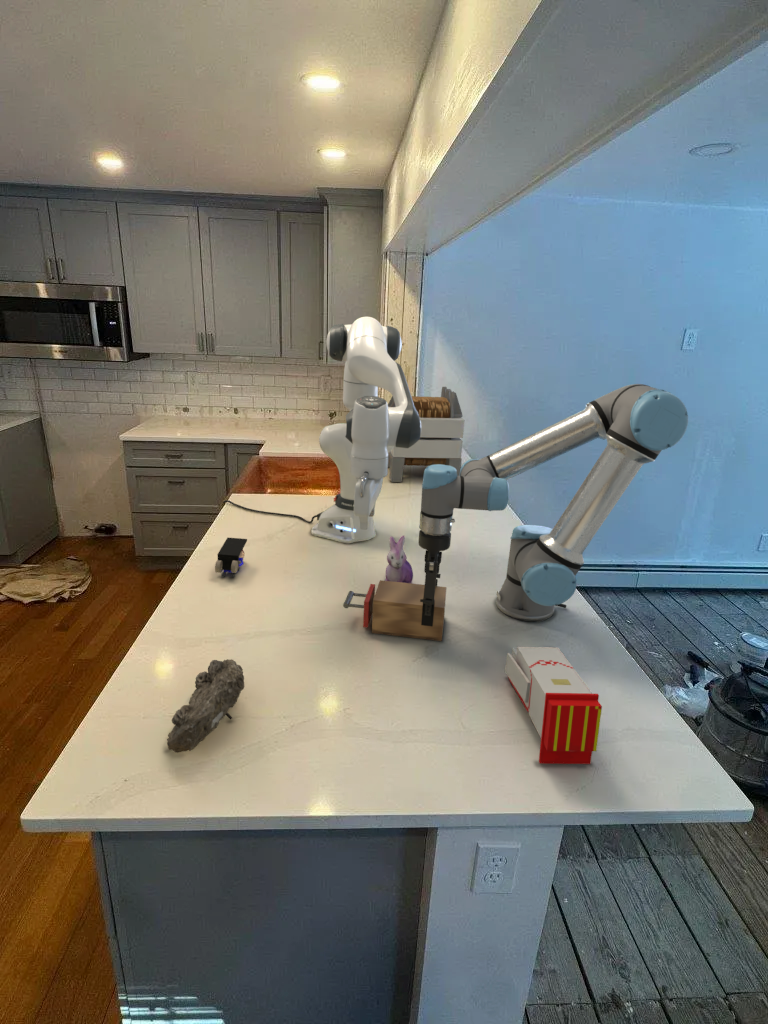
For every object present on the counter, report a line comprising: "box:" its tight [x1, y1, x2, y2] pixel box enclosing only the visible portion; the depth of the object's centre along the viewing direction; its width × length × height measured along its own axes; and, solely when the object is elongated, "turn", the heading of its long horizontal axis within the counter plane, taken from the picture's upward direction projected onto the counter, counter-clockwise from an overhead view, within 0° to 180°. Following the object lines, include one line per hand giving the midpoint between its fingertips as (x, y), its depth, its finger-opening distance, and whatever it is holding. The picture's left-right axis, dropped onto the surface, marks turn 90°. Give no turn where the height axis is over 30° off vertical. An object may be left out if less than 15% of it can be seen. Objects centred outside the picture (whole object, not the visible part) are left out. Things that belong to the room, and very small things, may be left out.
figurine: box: [384, 535, 414, 584], centre depth 160 cm, size 9×10×15 cm
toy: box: [504, 646, 603, 765], centre depth 112 cm, size 12×13×30 cm
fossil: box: [166, 658, 245, 754], centre depth 106 cm, size 22×10×15 cm
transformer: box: [387, 386, 465, 483], centre depth 268 cm, size 34×33×41 cm
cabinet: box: [371, 579, 448, 642], centre depth 141 cm, size 17×11×9 cm, turn 82°
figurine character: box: [214, 537, 248, 578], centre depth 166 cm, size 7×8×15 cm
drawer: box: [342, 583, 376, 628], centre depth 142 cm, size 21×10×7 cm, turn 82°
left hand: (367, 521), depth 139 cm, fingers open, 8 cm apart
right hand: (428, 613), depth 140 cm, fingers closed on cabinet, 11 cm apart
